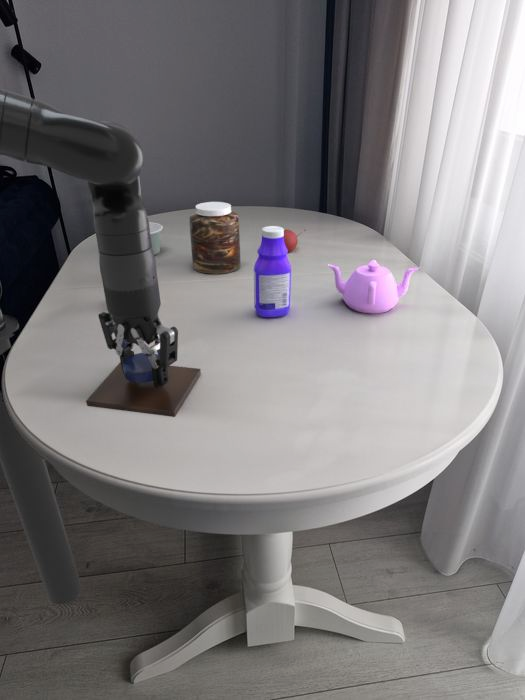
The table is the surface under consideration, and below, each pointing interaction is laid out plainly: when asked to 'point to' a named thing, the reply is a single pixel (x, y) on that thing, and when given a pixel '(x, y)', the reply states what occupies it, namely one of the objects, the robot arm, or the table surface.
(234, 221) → the jar
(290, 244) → the fruit
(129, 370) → the lid
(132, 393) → the board
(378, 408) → the table surface
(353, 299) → the teapot
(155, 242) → the food container
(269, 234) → the bottle
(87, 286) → the table surface
